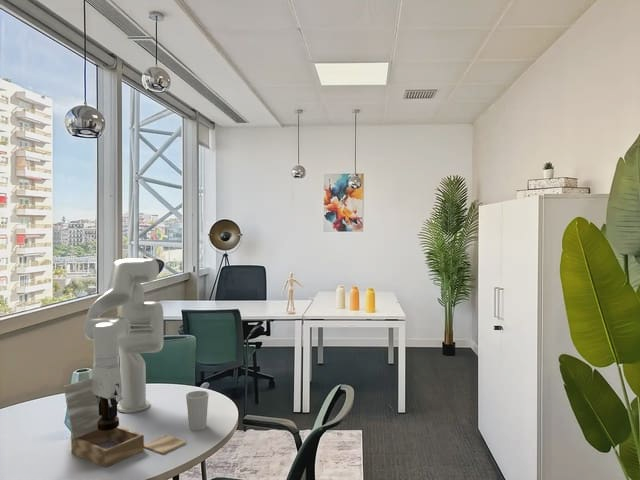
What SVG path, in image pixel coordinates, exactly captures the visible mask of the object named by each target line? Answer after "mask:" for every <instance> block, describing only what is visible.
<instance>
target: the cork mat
mask: <svg viewBox="0 0 640 480" xmlns="http://www.w3.org/2000/svg"><path fill="white" fill-rule="evenodd" d="M186 444H187V441H186V440H184V439H183V440H182V439H181V438H176V437H174V436H171V435H167V434H165V435H163V436H161V437H160V436H159V437H158V438H156V439H154V440H152V441H150V442H148V443H144V449H146V450H149V451H152V452H153V453H157V454H160V455H165V454H167V453H170V452H172V451H173V450H176V449H177V448H180V447H181V446H183V445H186Z"/></svg>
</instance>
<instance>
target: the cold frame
mask: <svg viewBox="0 0 640 480" xmlns="http://www.w3.org/2000/svg"><path fill="white" fill-rule="evenodd" d="M91 382H92V377H90V378H87V379H83V380H80V381H77V382H73V383H69V384H66V385H63V391H64V397H65V403H66V408H67V414H68V415H67V416H68V419H69V420H68V421H69V428H70V435H71V436H70V439H71V440H70V442H71V443H70V444H71V454H73V455H75V456H78V457H81V458H83V459H84V460H88V461H90V462H91V463H94V464H97V465H99V466H102V467H105V468H108V467H110V466H112V465H114V464H117V463H119V462H121V461H123V460H125V459H128V458H130V457H131V456H134V455H136V454H138V453H141V452H143V451H144V450H145V448H144V445H145V435H144V434H141V433H139V432H136V431H133V430H129V429H127V428H124V427H122V426H120V425H119V426H118V427H117V428H115V429H112V430H108V431H101V430H98V423H97V422H98V420H99V419H100V418H101V417H102V415H101V416H100V415H99V403H98V402H97V397H96V395H94V394H93V393H92V390H91ZM108 440H110V441H113V442H115V443H118V444H116V445H113V446H111V447H109V448H104V447H101V446H99V445H98V444H101V443H104V442H106V441H108Z"/></svg>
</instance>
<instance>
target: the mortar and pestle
mask: <svg viewBox="0 0 640 480" xmlns="http://www.w3.org/2000/svg"><path fill="white" fill-rule="evenodd" d="M113 400H114V398H112V401H113ZM108 407H109V404H108V399H106V398H102V397H101V410H102V417H101V418H100V419H99V420H98V422H97V423H98V430H101V431H108V430H112V429H115V428H117V427H118V426H119V427H120V418H119V417H118V415H117V416H116V417H113V418H111V419H108Z"/></svg>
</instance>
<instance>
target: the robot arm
mask: <svg viewBox="0 0 640 480" xmlns="http://www.w3.org/2000/svg"><path fill="white" fill-rule="evenodd" d="M159 272H160V266H159V263H158V261H157V260H156V259H155V258H123V259H118V260H115V261H113V263H112V269H111V273H110V277H109V282H108V286H107V291H106V292H105V293H104V294H103V295H101V296H99V297H98V298H97V299H96V300H95V301H94V302H93V303H92V304H91V305H90V307H89V308H88V311H87V314H86V318H85V321H84V327H83V328H84V329H83V334H84V336H85V338H86V339H87V340H89V341H92V342H93V343H92V344H93V366H92V370H91V378H92V382H91V390H92V393H93V394H94V395H96V397H97V402H98V403H99V415H100V416H101V415H102V410H101V397H102V398H106V399H108V404H109V407H108V419H111V418H113V417H116V416H117V417H118V412H120V413H126V414H127V413H128V414H129V413H130V414H131V413H132V414H133V413H137V412H141V411H144V410H146V409H149V407H151V402H150V401H149V400H147V393H146V392H147V387H146V385H147V384H146V381H147V380H146V377H147V375H146V362H145V360H144V357H142V355H141V354H147V353H149V354H151V353H159V352H160V351H162V349H163V346H164V308H163V305H162V303H161V302H159V301H145V289H144V287H143V285H142V283H144V284H146V283H152V282H153V281H155V280H156V279H157V278H158V276H159ZM119 307H121V316H115V317H114V316H113V317H110V316H109V317H108V316H107V317H102V315H103V314H104V313H106V312H108V311H111V310H114V309H115V308H119ZM131 326H134V327H136V326H149V327H151V328H131ZM112 398H114V400H113V401H112Z"/></svg>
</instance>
